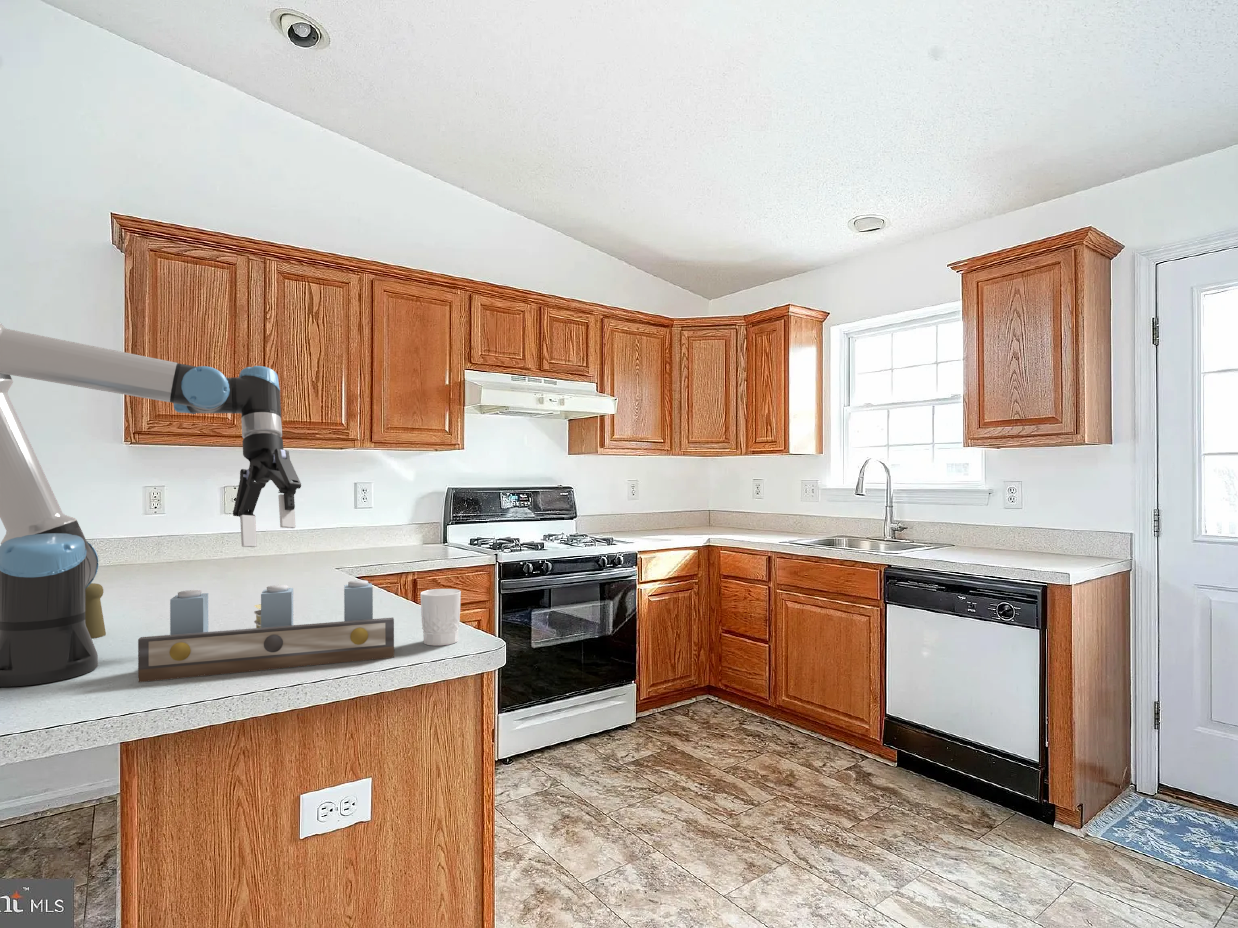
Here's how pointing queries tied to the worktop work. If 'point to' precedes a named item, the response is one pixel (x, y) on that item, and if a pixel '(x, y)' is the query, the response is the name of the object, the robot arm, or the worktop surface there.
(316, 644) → the button console
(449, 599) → the white cup
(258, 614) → the stacked layers on plate
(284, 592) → the middle plunger
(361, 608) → the right plunger
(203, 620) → the left plunger
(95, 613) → the cork
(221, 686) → the worktop surface
